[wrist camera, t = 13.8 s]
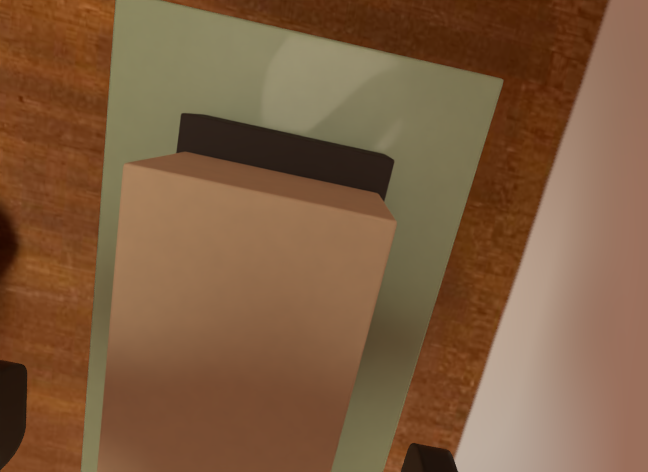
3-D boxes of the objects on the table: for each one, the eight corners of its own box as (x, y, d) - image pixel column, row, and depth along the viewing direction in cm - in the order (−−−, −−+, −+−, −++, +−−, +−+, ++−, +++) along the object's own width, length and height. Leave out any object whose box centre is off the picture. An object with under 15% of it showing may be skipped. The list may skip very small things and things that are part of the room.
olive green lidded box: (210, 48, 22) (115, -12, 12) (430, 97, 22) (505, 78, 13) (167, 373, 27) (77, 511, 18) (347, 409, 28) (355, 562, 18)
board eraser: (202, 113, 13) (115, 107, 8) (386, 154, 13) (421, 174, 8) (155, 467, 17) (75, 625, 12) (301, 494, 17) (288, 662, 12)
